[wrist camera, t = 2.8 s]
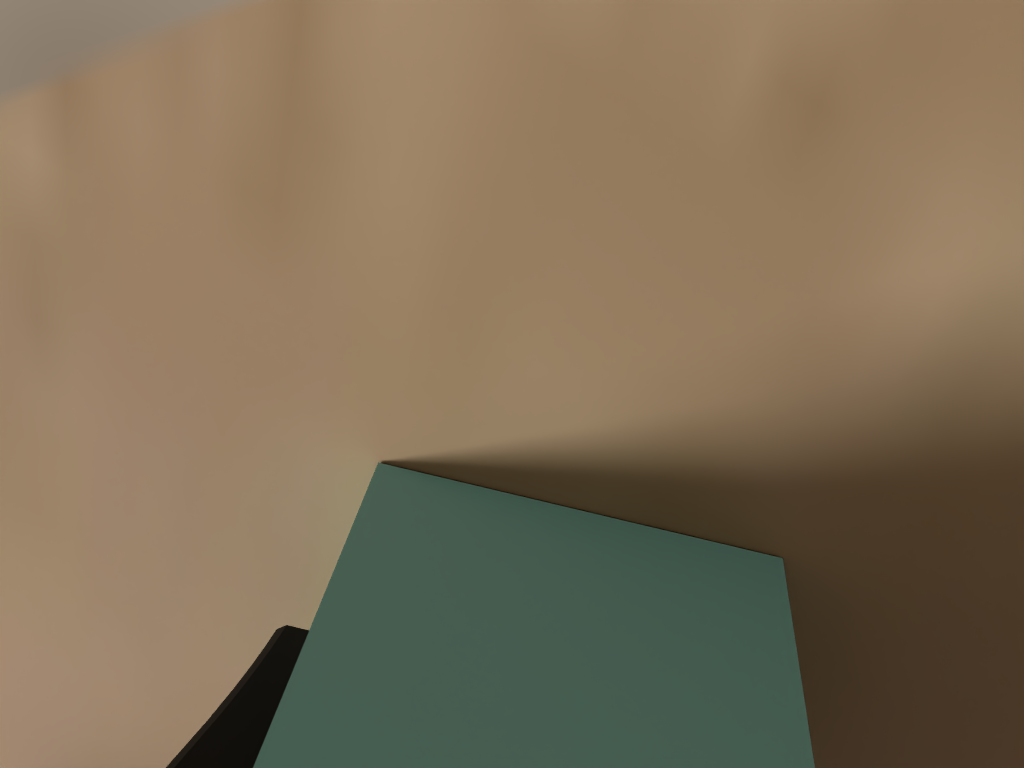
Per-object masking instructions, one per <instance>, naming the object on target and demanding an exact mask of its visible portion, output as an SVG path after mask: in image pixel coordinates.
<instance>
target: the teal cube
mask: <svg viewBox="0 0 1024 768" xmlns="http://www.w3.org/2000/svg"><path fill="white" fill-rule="evenodd" d="M253 768H815V765H814V758H813V752H812V745H811V739H810V732H809V726H808V719H807V713H806V706H805V700H804V693H803V687H802V680H801V674H800V667H799V661H798V654H797V648H796V641H795V635H794V628H793V622H792V615H791V609H790V602H789V596H788V589H787V583H786V577H785V570H784V564H783V558H780V557H775V556H771V555H767V554H763V553H758V552H754V551H750V550H746V549H742V548H737V547H733V546H729V545H725V544H720V543H716V542H712V541H708V540H704V539H699V538H695V537H691V536H687V535H682V534H678V533H674V532H670V531H665V530H661V529H657V528H653V527H649V526H644V525H640V524H636V523H632V522H627V521H623V520H619V519H615V518H610V517H606V516H602V515H598V514H594V513H589V512H585V511H581V510H577V509H572V508H568V507H564V506H560V505H556V504H551V503H547V502H543V501H539V500H534V499H530V498H526V497H522V496H517V495H513V494H509V493H505V492H501V491H496V490H492V489H488V488H484V487H479V486H475V485H471V484H467V483H462V482H458V481H454V480H450V479H446V478H441V477H437V476H433V475H429V474H424V473H420V472H416V471H412V470H408V469H403V468H399V467H395V466H391V465H386V464H382V463H378V465H377V467H376V469H375V472H374V474H373V477H372V479H371V482H370V484H369V487H368V489H367V491H366V494H365V496H364V499H363V501H362V504H361V506H360V508H359V511H358V513H357V516H356V518H355V521H354V523H353V526H352V528H351V530H350V533H349V535H348V538H347V540H346V543H345V545H344V547H343V550H342V552H341V555H340V557H339V560H338V562H337V565H336V567H335V569H334V572H333V574H332V577H331V579H330V582H329V584H328V586H327V589H326V591H325V594H324V596H323V599H322V601H321V604H320V606H319V608H318V611H317V613H316V616H315V618H314V621H313V623H312V625H311V628H310V630H309V633H308V635H307V638H306V640H305V643H304V645H303V647H302V650H301V652H300V655H299V657H298V660H297V662H296V664H295V667H294V669H293V672H292V674H291V677H290V679H289V681H288V684H287V686H286V689H285V691H284V694H283V696H282V699H281V701H280V703H279V706H278V708H277V711H276V713H275V716H274V718H273V720H272V723H271V725H270V728H269V730H268V733H267V735H266V738H265V740H264V742H263V745H262V747H261V750H260V752H259V755H258V757H257V759H256V762H255V764H254V767H253Z"/></svg>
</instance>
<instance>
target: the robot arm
mask: <svg viewBox="0 0 1024 768" xmlns="http://www.w3.org/2000/svg"><path fill="white" fill-rule="evenodd" d="M308 633H309V630H305V629H300V628H296V627H292V626H288V625H286V626H283V627H281V628H279V629H277V630H276V631H275V633H274V634H273V636H272V637H271V639H270V640H269V642H268V643H267V645H266V646H265V648H264V649H263V650H262V652H261V653H260V654H259V656H258V657H257V659H256V660H255V661H254V663H253V664H252V665H251V667H250V668H249V669H248V671H247V672H246V673H245V675H244V676H243V677H242V679H241V680H240V681H239V682H238V684H237V685H236V686H235V688H234V689H233V690H232V691H231V693H230V694H229V695H228V696H227V697H226V699H225V700H224V701H223V702H222V704H221V705H220V706H219V707H218V708H217V710H216V711H215V712H214V713H213V714H212V716H211V717H210V718H209V719H208V721H207V722H206V723H205V724H204V725H203V726H202V727H201V729H200V730H199V731H198V732H197V733H196V734H195V735H194V736H193V738H192V739H191V740H190V741H189V742H188V743H187V744H186V746H185V747H184V748H183V749H182V750H181V751H180V752H179V753H178V755H177V756H176V757H175V758H174V759H173V760H172V761H171V763H170V764H169V765H168V766H167V767H166V768H253V767H254V764H255V762H256V759H257V757H258V755H259V752H260V750H261V747H262V745H263V742H264V740H265V738H266V735H267V733H268V730H269V728H270V725H271V723H272V720H273V718H274V716H275V713H276V711H277V708H278V706H279V703H280V701H281V699H282V696H283V694H284V691H285V689H286V686H287V684H288V681H289V679H290V677H291V674H292V672H293V669H294V667H295V664H296V662H297V660H298V657H299V655H300V652H301V650H302V647H303V645H304V643H305V640H306V638H307V635H308Z"/></svg>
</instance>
